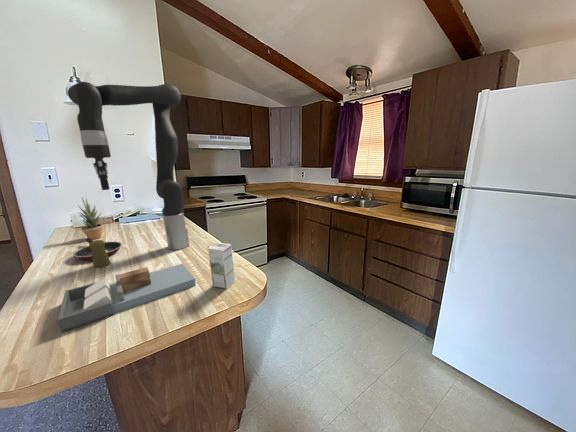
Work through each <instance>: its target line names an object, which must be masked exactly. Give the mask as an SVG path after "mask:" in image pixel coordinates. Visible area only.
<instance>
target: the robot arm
mask: <svg viewBox="0 0 576 432" xmlns="http://www.w3.org/2000/svg"><path fill="white" fill-rule="evenodd" d="M67 96H68V98H69V100H70V101H71V102H72V103H73V104H75V105H77V106H78V110H79V111H78V114H77V116H76V118H77V123H78V128H79V132H80V140H81V144H82V149H83V152H84V157H85V158H86V159H94V161H95V162H94V163H93V168H94V169H95V173H96V175H97V177H98V179H99V182H100V186H101V190H102V191H107V190H110V184H109V181H108V179H109V176H108V175H109V171H108V163H107V162H105V160H104V159H105V158H107V159H108V158H111V157H112V154H111V149H110V145H109V141H108V137H107V134H106V131H105V126H104V122H103V106H114V107H115V106H136V105H143V104H152V108H153V109H152V110H153V116H154V118H153V119H154V130H155V131H154V134H155V135H154V136H155V137H154V139H155V143H154V144H155V153H156V154H155V157H156V158H155V160H156V186H155V189H156V190H155V191H156V194H157V196H158V197H159V198H161V199H163V208H162V210H161V211H162V219H163V225H164V230H165V237H166V243H167V247H168V250H172V251H177V250H182V249H185V248H187V247H189V246H190V240H189V233H188V227H186V221H185V220H186V219H185V214H184V208H185V207H184V206H185V201H184V193H183V188H182V186H181V184H180V183H179V182H177V181H174V168H175V164H176V162H177V158H178V155H179V154H178V152H179V143H178V136H177V133H176V132H175V131H176V130H175V129H174V127H173V125H172V122H171V108H173V107H176V106H178V105H179V104H180V103H181V100H182V99H181V98H182V97H181V96H182V95H181V92H180V91H179V89H178V88H177V86H175V85H173V84H170V83H164V84H163V83H162V84H159V85H152V86H151V85H148V86H145V85H144V86H139V85H122V84H103V85H102V84H101V85H94V84H93V83H90V82H88V81H79V82H77V83H76V84H73V85H71V86H70V87H69V88H68V90H67Z"/></svg>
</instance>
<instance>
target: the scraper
mask: <svg viewBox="0 0 576 432" xmlns="http://www.w3.org/2000/svg"><path fill="white" fill-rule="evenodd" d="M149 273H150V270H149V268H148V267H147V266H146V267H142V268H139V269H138V268H137V269H134V270H131V271H127V272H123V273H119V274H115V275H114V276H115V281H116V284H117V291H118V296H119V300H120V301H123V300H125V299H124V294H123V293H124V292H127V291H130V290H134V289H137V288H140V287H143V286H147V285H150V284H151V279H150V274H149Z"/></svg>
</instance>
